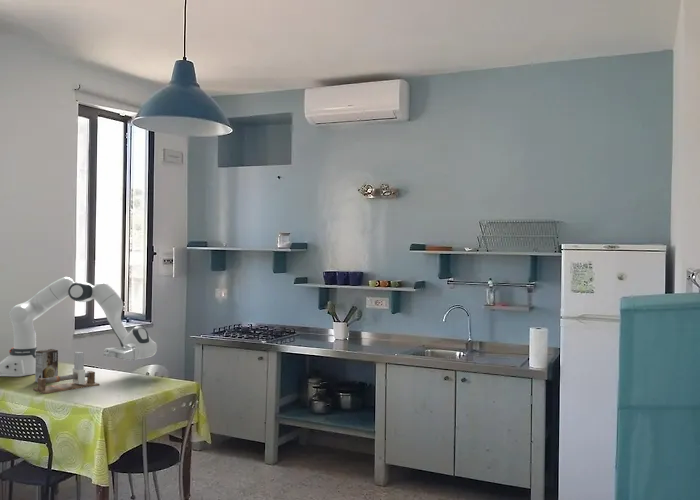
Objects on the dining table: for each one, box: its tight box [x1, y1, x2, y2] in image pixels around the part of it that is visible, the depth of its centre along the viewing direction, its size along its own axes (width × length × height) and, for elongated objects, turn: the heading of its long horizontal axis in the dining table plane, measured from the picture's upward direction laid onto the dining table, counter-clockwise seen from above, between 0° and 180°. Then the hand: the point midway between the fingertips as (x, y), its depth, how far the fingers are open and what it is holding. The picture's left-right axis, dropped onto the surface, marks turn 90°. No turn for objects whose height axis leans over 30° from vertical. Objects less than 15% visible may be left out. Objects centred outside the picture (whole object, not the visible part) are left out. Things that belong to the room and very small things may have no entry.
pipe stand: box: [32, 370, 100, 395], centre depth 322 cm, size 28×12×6 cm, turn 139°
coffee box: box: [34, 348, 59, 383], centre depth 336 cm, size 9×6×16 cm
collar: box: [72, 351, 86, 384], centre depth 327 cm, size 3×7×16 cm, turn 49°
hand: (104, 355), depth 337 cm, fingers closed
